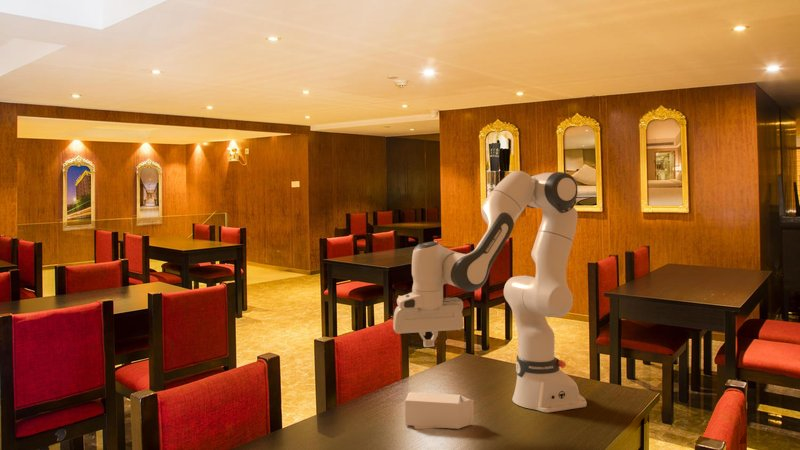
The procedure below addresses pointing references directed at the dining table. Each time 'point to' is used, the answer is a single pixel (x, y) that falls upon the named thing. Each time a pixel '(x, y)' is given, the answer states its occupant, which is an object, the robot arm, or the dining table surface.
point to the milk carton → (438, 410)
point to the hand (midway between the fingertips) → (428, 346)
